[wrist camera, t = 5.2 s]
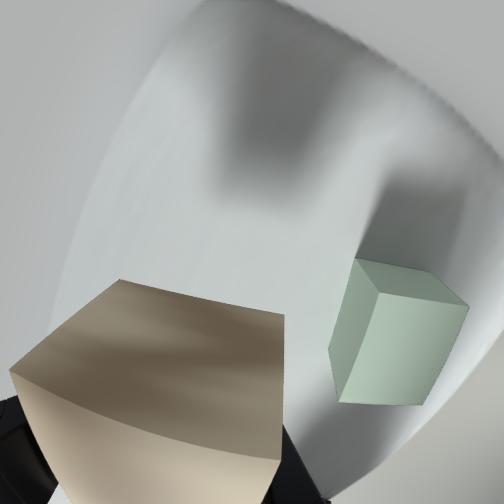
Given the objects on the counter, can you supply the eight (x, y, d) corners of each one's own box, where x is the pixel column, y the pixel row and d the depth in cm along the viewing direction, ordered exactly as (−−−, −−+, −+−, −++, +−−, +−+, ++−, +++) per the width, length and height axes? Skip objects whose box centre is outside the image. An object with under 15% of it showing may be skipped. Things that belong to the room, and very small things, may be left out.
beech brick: (284, 315, 9) (281, 460, 4) (249, 445, 10) (232, 556, 6) (119, 279, 9) (8, 369, 4) (126, 414, 11) (73, 507, 6)
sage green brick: (429, 271, 17) (469, 306, 12) (397, 356, 18) (422, 405, 13) (354, 257, 17) (379, 292, 12) (327, 348, 18) (338, 401, 14)
